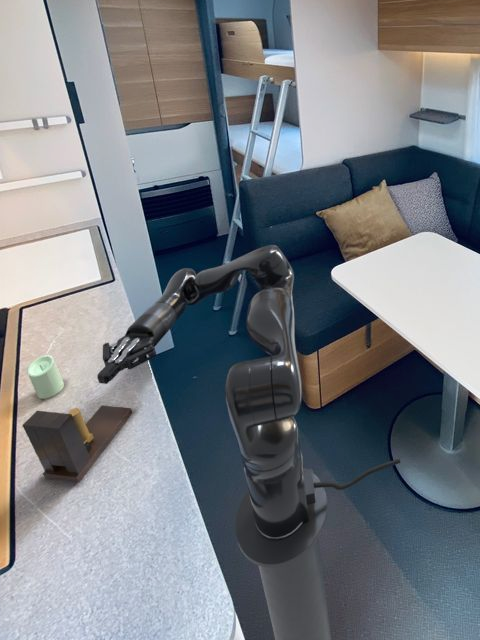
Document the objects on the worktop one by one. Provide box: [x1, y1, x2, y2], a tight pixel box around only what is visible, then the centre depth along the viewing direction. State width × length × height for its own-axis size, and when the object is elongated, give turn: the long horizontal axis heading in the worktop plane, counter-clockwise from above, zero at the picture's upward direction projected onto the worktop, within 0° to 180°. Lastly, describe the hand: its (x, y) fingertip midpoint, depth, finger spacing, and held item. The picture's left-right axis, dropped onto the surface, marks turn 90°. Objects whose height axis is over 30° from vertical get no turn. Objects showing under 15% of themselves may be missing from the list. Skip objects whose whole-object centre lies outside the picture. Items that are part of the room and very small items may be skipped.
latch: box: [22, 404, 133, 484], centre depth 80 cm, size 15×7×14 cm, turn 173°
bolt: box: [67, 407, 94, 444], centre depth 78 cm, size 6×2×8 cm, turn 173°
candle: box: [26, 354, 65, 400], centre depth 94 cm, size 5×5×8 cm
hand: (101, 380), depth 85 cm, fingers closed
